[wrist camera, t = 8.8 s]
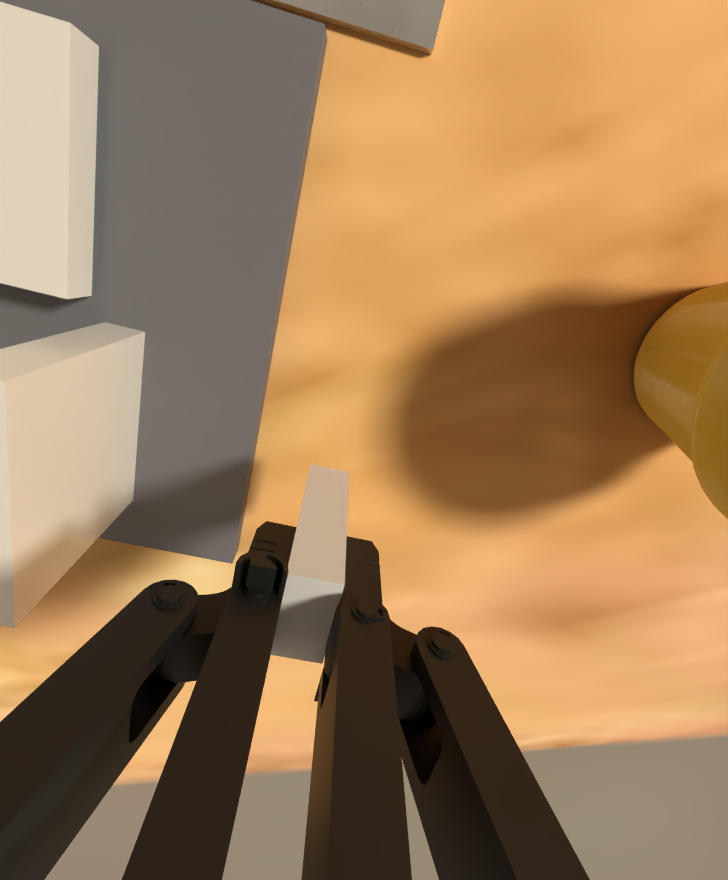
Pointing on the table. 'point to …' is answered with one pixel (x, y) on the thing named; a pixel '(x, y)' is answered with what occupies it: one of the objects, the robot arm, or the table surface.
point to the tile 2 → (63, 453)
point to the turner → (377, 18)
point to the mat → (189, 240)
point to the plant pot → (691, 384)
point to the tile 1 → (47, 153)
